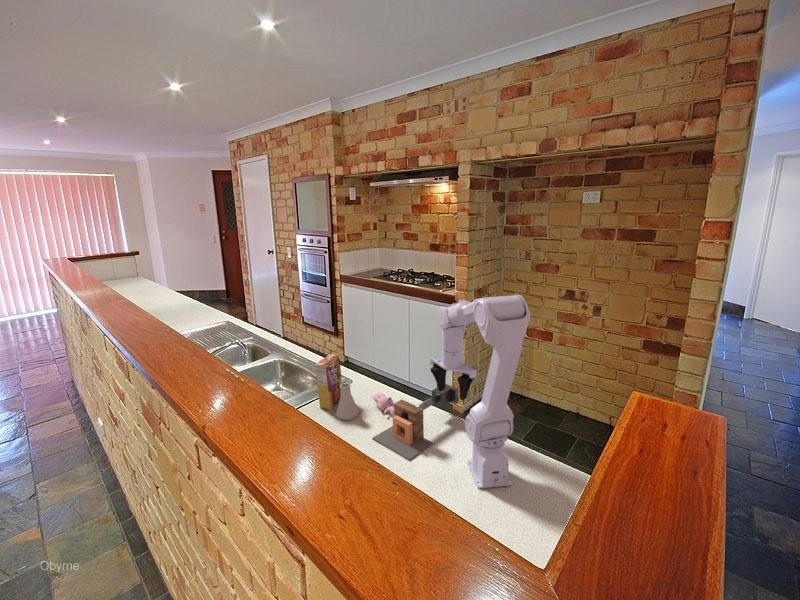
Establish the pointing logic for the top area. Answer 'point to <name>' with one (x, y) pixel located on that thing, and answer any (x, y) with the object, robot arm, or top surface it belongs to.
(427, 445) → the mat
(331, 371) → the candy box
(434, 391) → the shaft
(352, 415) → the flask
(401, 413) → the bracket
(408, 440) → the spacer
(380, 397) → the pink toy animal
